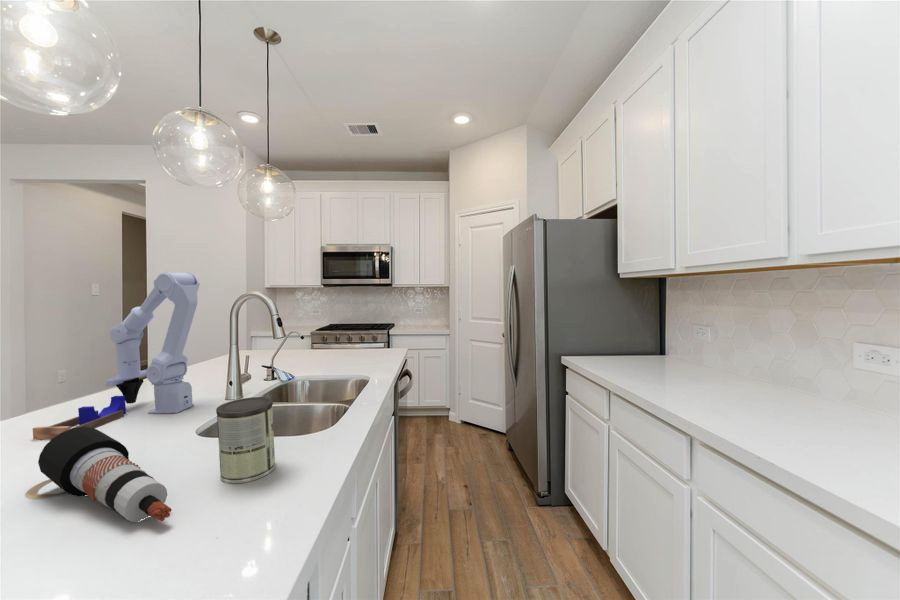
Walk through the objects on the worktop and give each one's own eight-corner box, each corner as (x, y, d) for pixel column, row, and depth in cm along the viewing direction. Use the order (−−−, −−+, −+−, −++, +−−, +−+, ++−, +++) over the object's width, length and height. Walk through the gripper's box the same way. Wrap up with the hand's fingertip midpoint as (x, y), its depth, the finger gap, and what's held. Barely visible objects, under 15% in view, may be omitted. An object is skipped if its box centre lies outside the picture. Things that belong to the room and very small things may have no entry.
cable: (148, 563, 60) (109, 525, 55) (60, 490, 76) (24, 455, 71) (207, 504, 67) (178, 467, 63) (116, 449, 83) (87, 416, 78)
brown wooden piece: (124, 416, 117) (123, 406, 117) (66, 439, 100) (66, 427, 100) (95, 417, 118) (94, 407, 117) (33, 439, 100) (32, 428, 100)
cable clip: (111, 415, 120) (110, 395, 119) (126, 414, 120) (124, 395, 119) (74, 429, 108) (72, 408, 107) (90, 429, 108) (89, 407, 107)
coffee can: (213, 472, 80) (210, 404, 79) (265, 455, 87) (262, 394, 86) (227, 490, 72) (224, 416, 72) (283, 470, 80) (280, 403, 79)
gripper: (135, 357, 132) (137, 396, 132) (95, 366, 117) (98, 410, 118) (155, 356, 132) (157, 396, 132) (117, 365, 117) (120, 409, 118)
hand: (131, 402), depth 125 cm, fingers closed
